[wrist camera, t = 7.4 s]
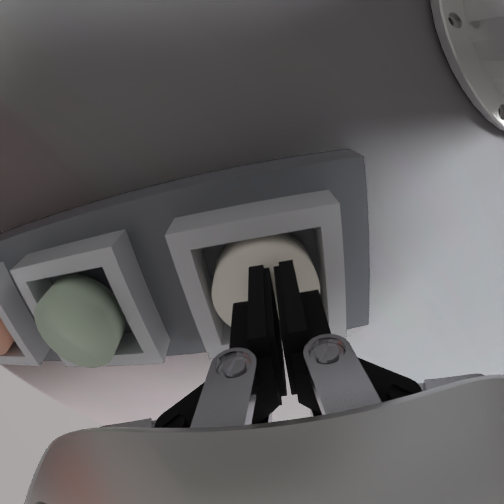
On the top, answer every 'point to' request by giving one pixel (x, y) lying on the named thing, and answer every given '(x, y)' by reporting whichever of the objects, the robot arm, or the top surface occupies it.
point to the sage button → (80, 320)
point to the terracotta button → (5, 338)
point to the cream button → (252, 254)
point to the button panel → (191, 253)
